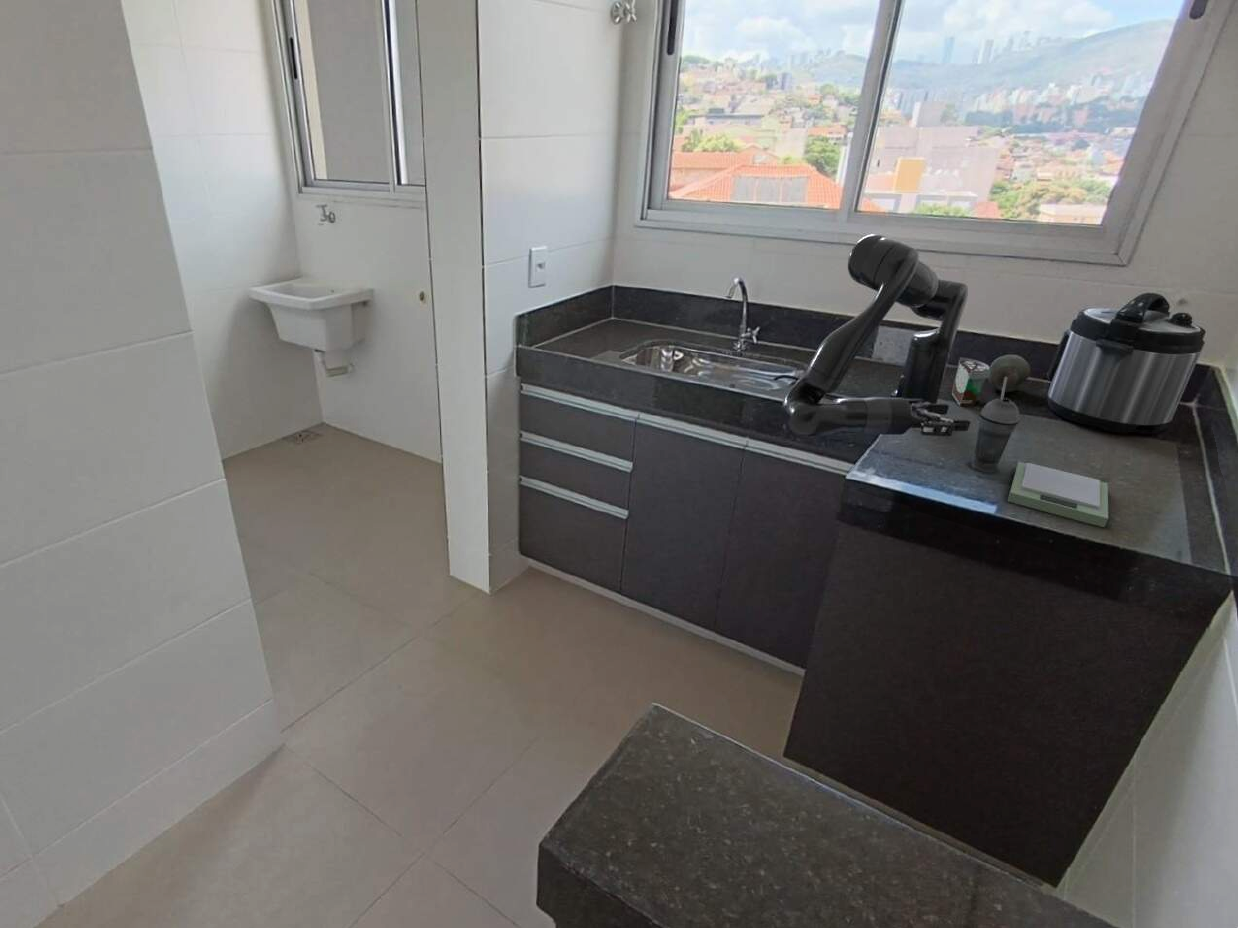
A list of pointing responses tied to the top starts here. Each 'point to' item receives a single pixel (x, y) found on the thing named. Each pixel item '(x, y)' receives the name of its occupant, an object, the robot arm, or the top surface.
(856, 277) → the robot arm
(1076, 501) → the kitchen scale
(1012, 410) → the beverage cup
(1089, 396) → the pressure cooker
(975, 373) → the food container
